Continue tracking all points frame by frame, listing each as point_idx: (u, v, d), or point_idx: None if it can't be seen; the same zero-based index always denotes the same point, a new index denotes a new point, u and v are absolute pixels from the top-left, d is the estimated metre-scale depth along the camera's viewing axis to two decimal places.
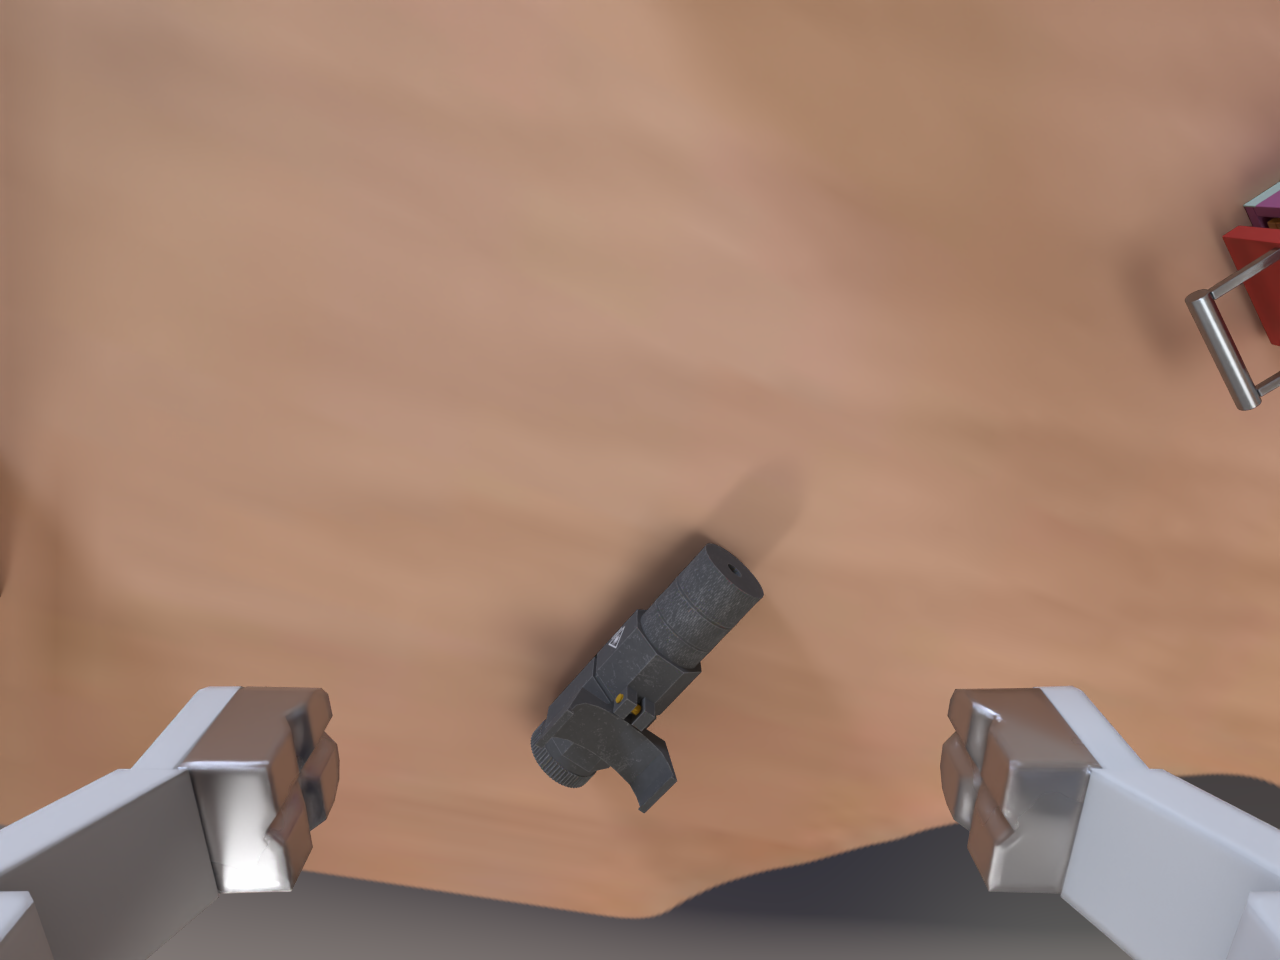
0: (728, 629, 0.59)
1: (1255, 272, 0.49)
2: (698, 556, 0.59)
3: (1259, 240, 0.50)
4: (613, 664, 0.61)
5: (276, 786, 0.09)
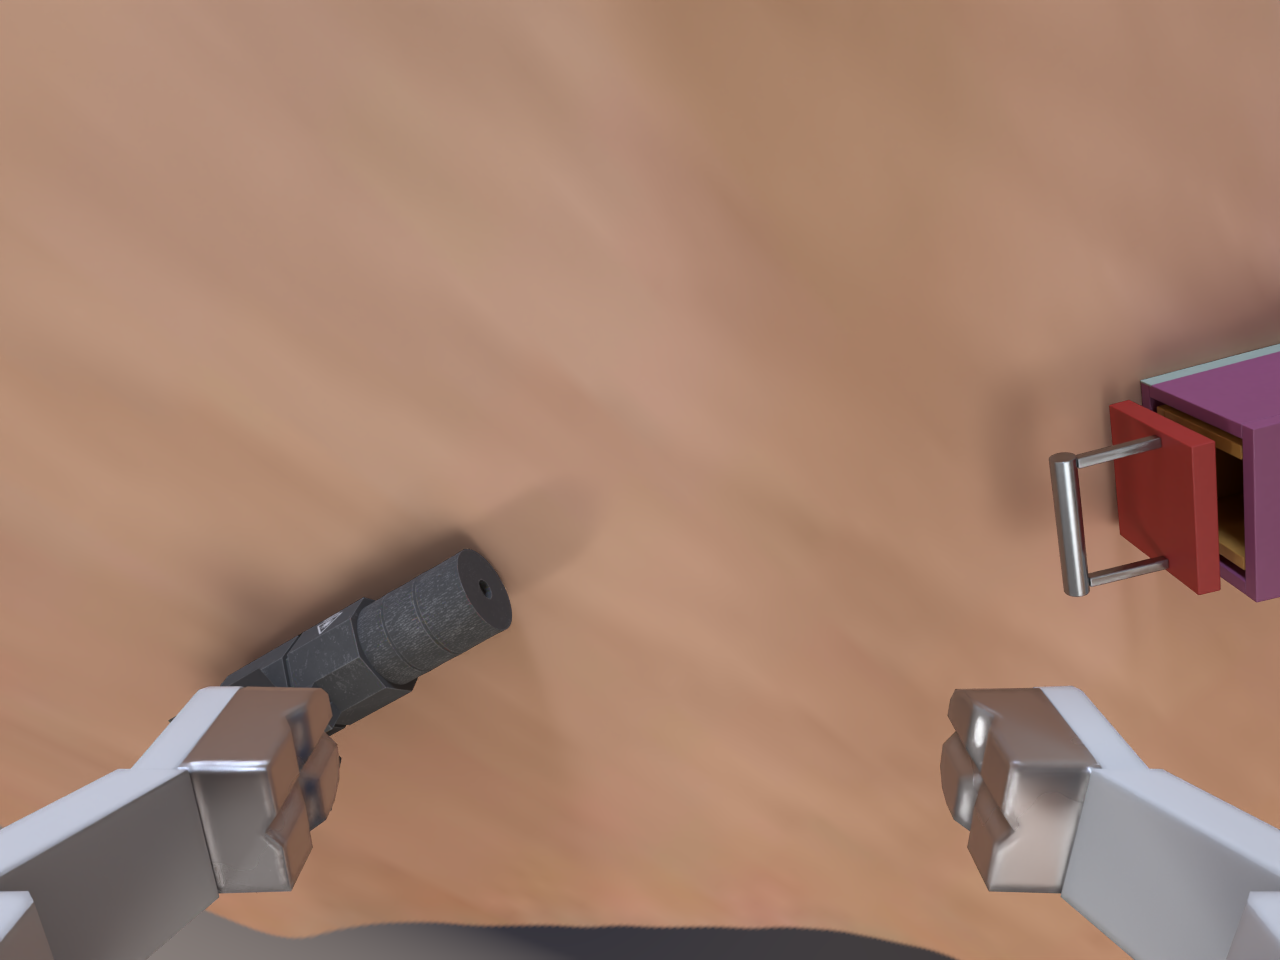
0: (454, 653, 0.50)
1: (1127, 454, 0.44)
2: (448, 560, 0.50)
3: (1143, 422, 0.45)
4: (308, 652, 0.50)
5: (276, 785, 0.09)
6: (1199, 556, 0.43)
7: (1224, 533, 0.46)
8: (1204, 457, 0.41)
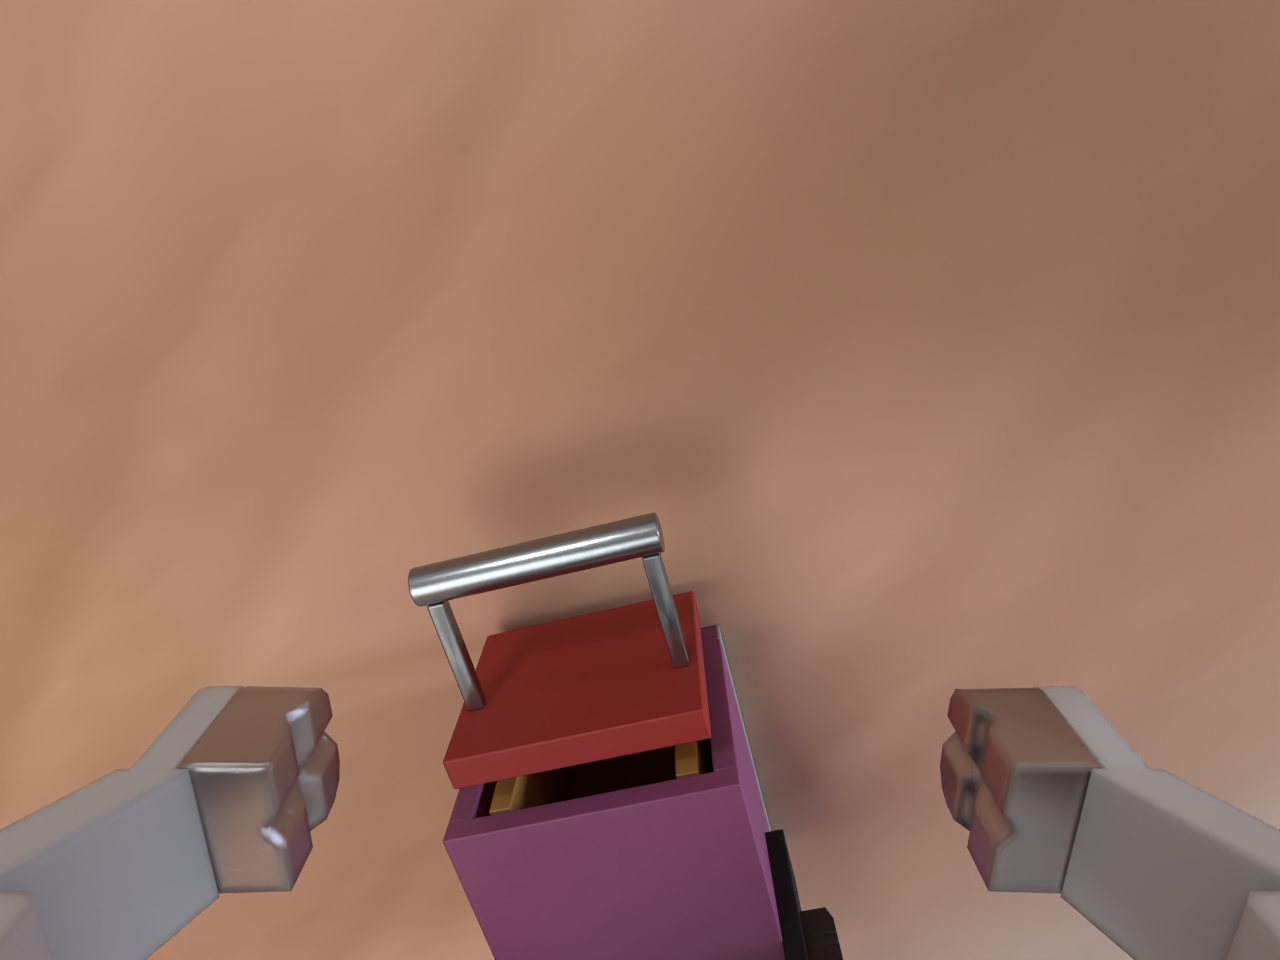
0: None
1: (664, 624, 0.28)
2: None
3: (696, 637, 0.30)
4: None
5: (275, 785, 0.09)
6: (513, 751, 0.27)
7: None
8: (685, 729, 0.26)
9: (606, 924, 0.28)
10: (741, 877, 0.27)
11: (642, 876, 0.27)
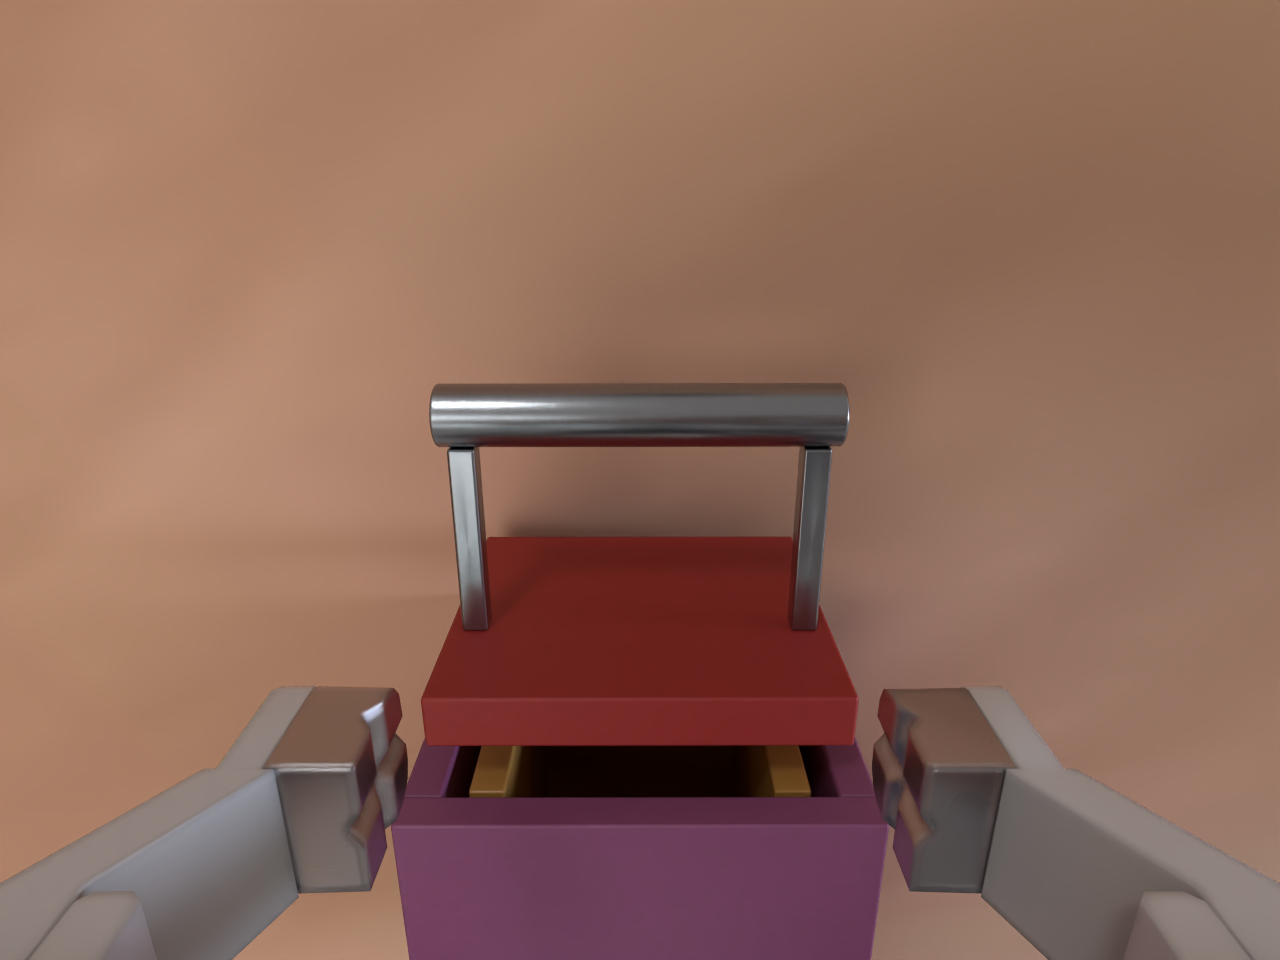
0: None
1: (802, 559, 0.18)
2: None
3: None
4: None
5: (358, 786, 0.09)
6: (540, 704, 0.16)
7: None
8: (820, 723, 0.17)
9: None
10: None
11: (688, 936, 0.17)
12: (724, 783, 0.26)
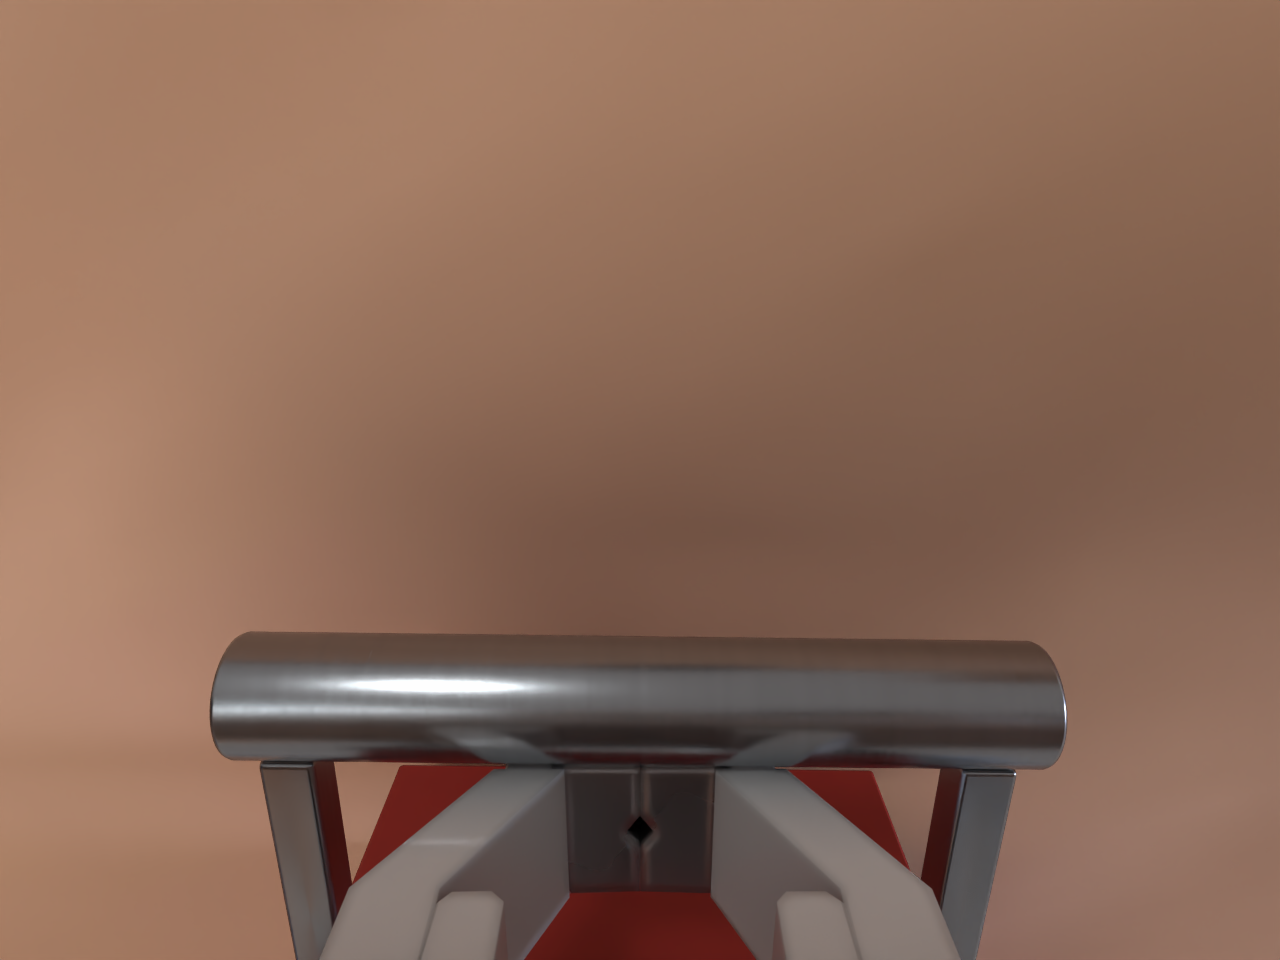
0: None
1: None
2: None
3: None
4: None
5: (640, 785, 0.09)
6: None
7: None
8: None
9: None
10: None
11: None
12: None
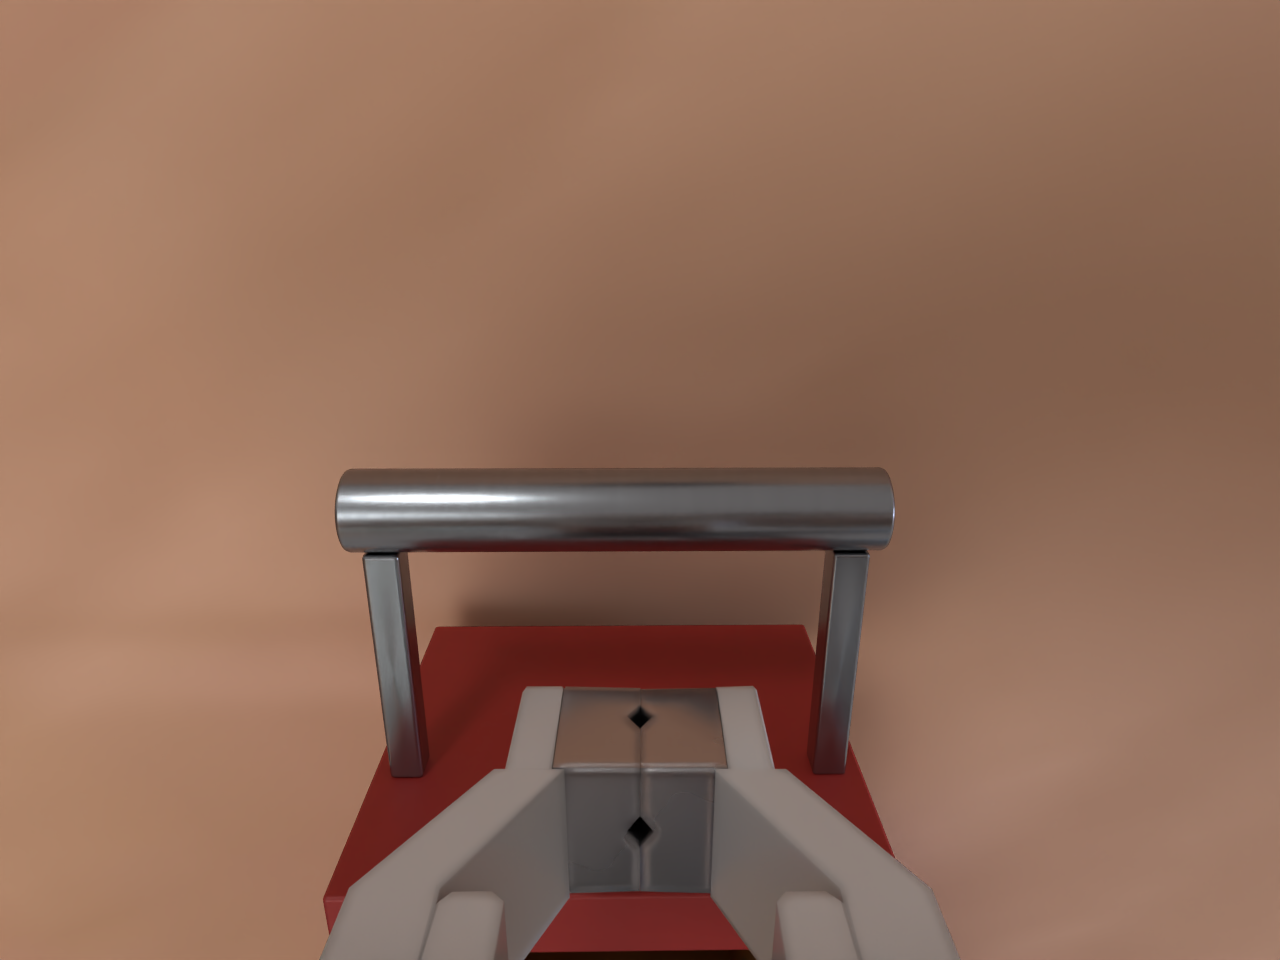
0: None
1: (828, 689, 0.14)
2: None
3: None
4: None
5: (640, 785, 0.09)
6: None
7: None
8: None
9: None
10: None
11: None
12: None
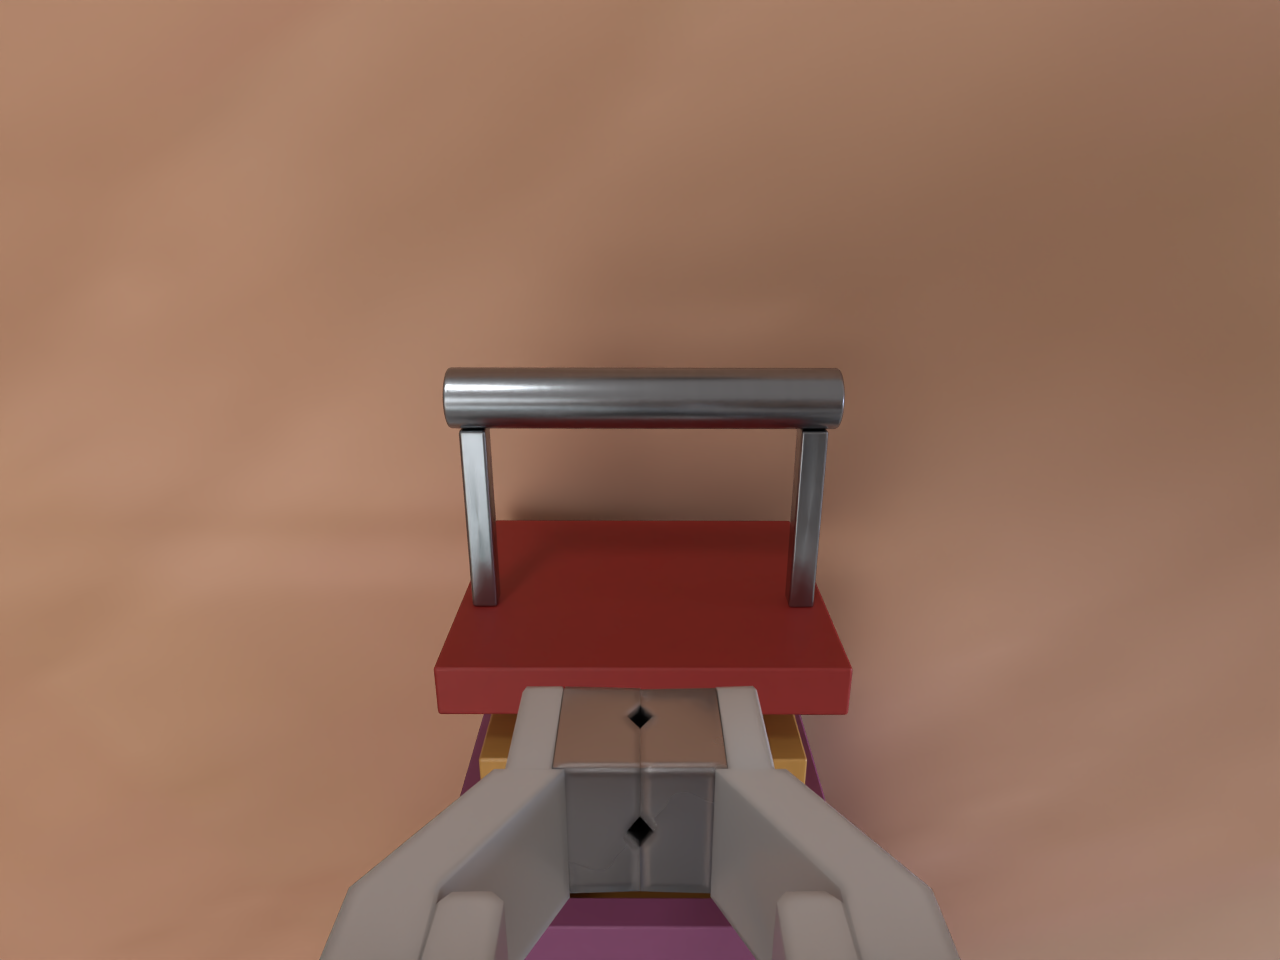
0: None
1: (800, 538, 0.19)
2: None
3: None
4: None
5: (640, 785, 0.09)
6: (548, 674, 0.17)
7: None
8: (816, 693, 0.17)
9: None
10: None
11: None
12: None
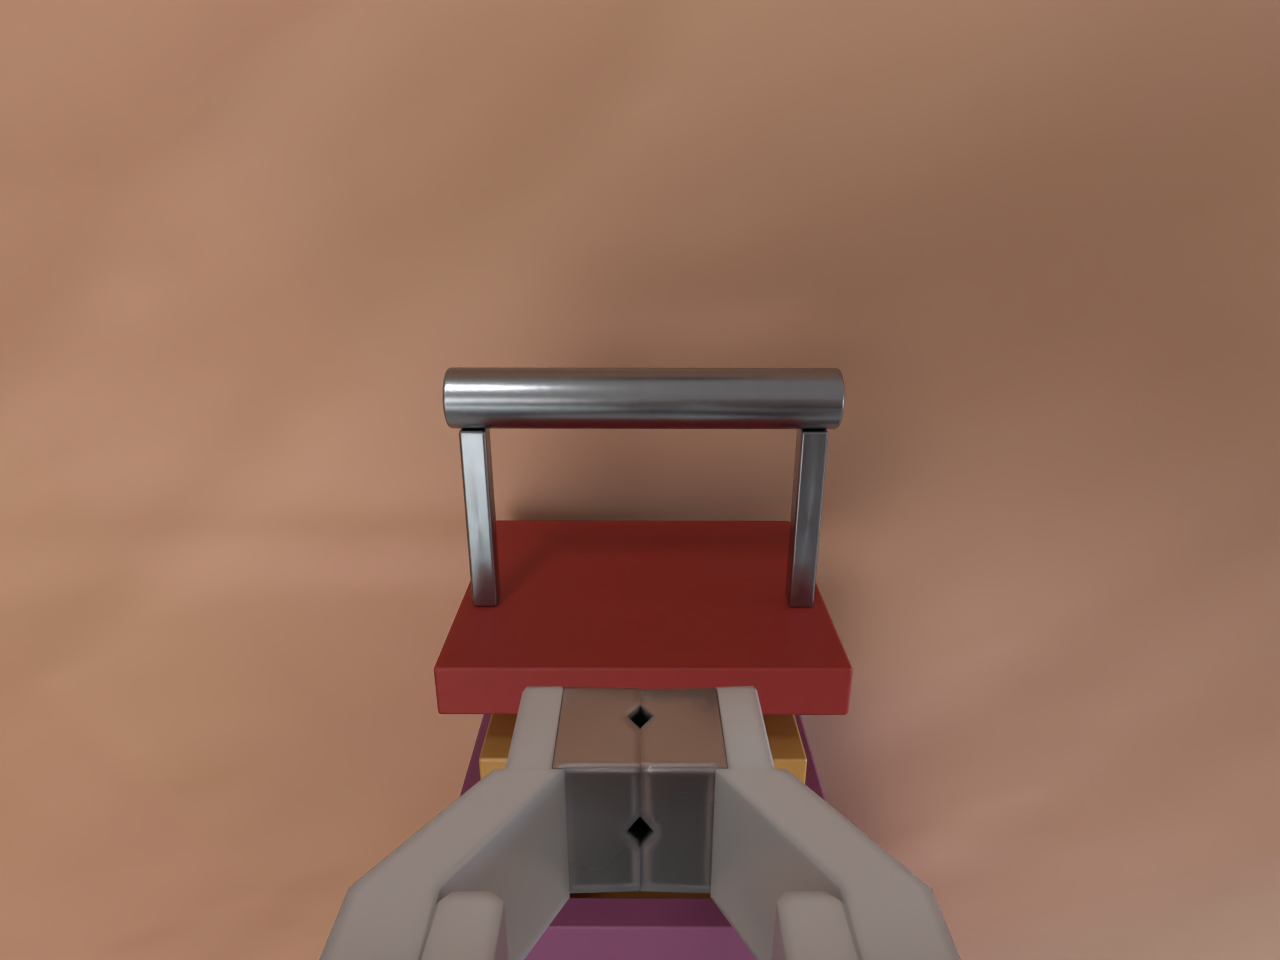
0: None
1: (800, 538, 0.19)
2: None
3: None
4: None
5: (640, 785, 0.09)
6: (548, 674, 0.17)
7: None
8: (816, 693, 0.17)
9: None
10: None
11: None
12: None
